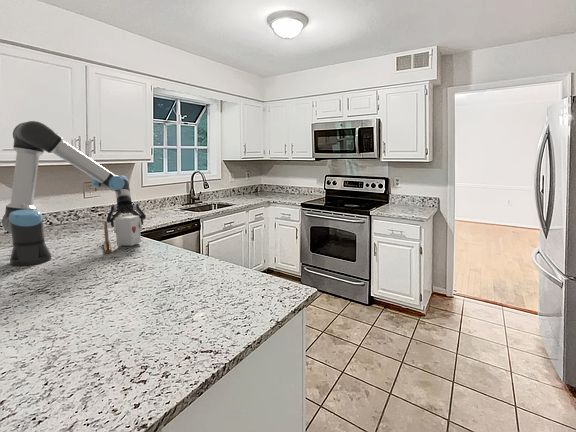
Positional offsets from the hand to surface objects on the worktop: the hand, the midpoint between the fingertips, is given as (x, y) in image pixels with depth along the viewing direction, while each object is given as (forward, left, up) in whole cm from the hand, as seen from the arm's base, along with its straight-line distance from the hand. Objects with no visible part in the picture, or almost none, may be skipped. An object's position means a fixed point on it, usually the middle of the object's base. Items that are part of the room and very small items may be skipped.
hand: (128, 230), depth 181 cm
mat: (0, +3, -9) cm, 9 cm away
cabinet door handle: (-10, +3, -9) cm, 14 cm away
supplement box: (0, +1, -8) cm, 8 cm away
